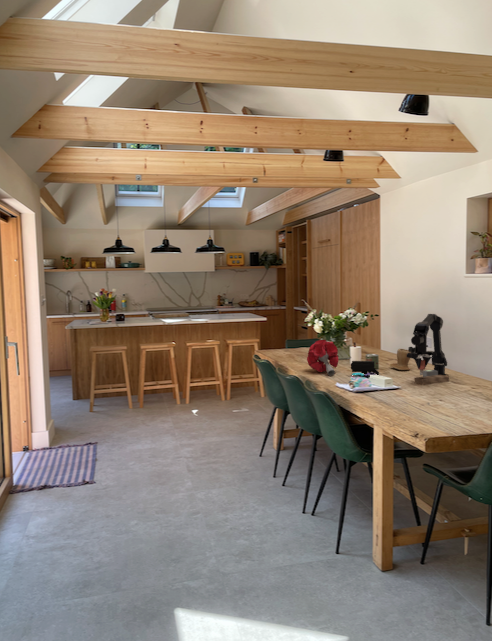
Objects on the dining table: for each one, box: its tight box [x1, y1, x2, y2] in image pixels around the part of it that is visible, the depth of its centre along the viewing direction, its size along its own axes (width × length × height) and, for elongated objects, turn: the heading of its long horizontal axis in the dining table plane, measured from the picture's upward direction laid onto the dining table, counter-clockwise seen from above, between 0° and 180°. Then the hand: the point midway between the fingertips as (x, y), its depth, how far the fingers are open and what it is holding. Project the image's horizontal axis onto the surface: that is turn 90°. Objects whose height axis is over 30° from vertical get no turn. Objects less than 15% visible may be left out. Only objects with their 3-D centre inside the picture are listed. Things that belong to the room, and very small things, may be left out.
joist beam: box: [413, 375, 450, 385], centre depth 320 cm, size 21×7×3 cm, turn 111°
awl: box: [418, 359, 426, 376], centre depth 316 cm, size 4×4×9 cm
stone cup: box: [389, 348, 411, 371], centre depth 363 cm, size 15×12×15 cm
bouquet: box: [306, 339, 339, 377], centre depth 356 cm, size 22×24×30 cm
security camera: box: [350, 360, 380, 376], centre depth 342 cm, size 7×18×10 cm, turn 78°
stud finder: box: [422, 369, 438, 377], centre depth 331 cm, size 8×4×5 cm, turn 105°
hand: (421, 368), depth 316 cm, fingers closed on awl, 4 cm apart
